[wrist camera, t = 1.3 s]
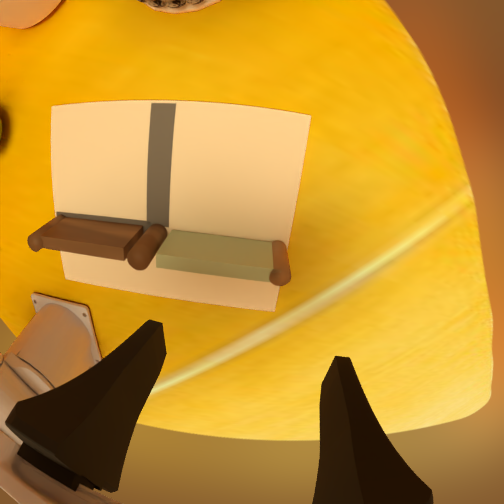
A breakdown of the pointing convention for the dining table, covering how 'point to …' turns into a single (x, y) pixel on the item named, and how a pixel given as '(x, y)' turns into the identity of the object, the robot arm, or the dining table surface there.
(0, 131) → the snail figurine
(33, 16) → the beverage can
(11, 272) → the dining table surface
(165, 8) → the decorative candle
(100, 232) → the base
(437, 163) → the dining table surface
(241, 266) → the fence gate
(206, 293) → the card
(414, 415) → the dining table surface
